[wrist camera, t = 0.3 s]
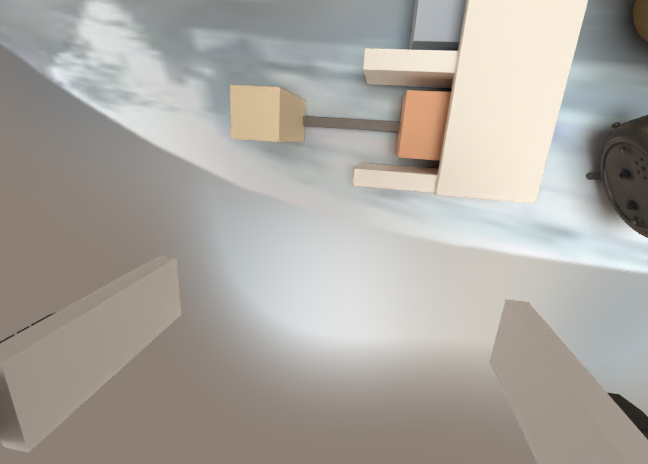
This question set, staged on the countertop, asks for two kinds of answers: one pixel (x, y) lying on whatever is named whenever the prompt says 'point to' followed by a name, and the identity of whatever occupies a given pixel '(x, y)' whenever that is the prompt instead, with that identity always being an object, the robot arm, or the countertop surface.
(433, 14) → the slate block
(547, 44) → the shelf lanes
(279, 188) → the countertop surface
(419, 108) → the corded block
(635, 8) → the plant pot
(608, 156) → the alarm clock
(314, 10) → the countertop surface
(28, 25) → the countertop surface
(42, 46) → the countertop surface
